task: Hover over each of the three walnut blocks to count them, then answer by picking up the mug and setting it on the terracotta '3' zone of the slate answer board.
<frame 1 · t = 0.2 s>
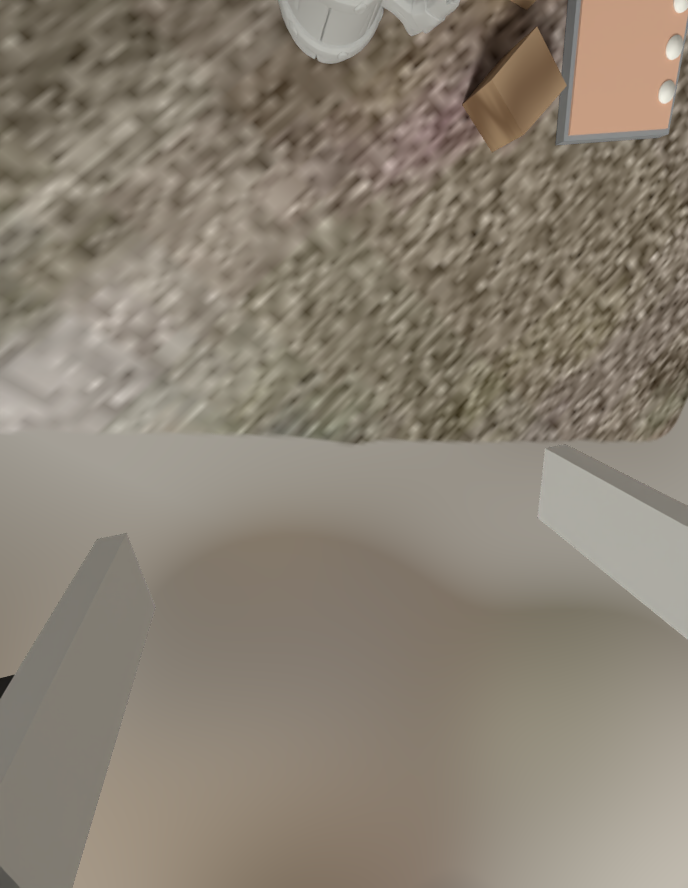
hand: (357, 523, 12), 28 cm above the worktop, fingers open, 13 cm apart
mug: (352, 15, 29), on the worktop
walnut block c: (496, 107, 33), on the worktop
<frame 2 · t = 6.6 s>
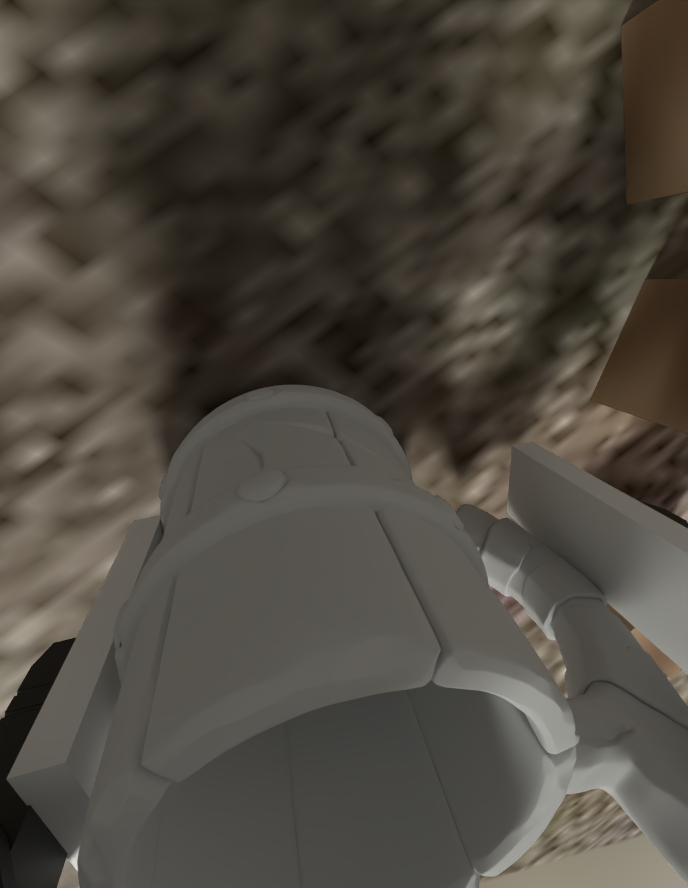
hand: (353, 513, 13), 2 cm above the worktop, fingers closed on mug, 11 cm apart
mug: (343, 485, 15), on the worktop, touching gripper
walnut block b: (657, 354, 15), on the worktop
walnut block c: (599, 546, 19), on the worktop
walnut block a: (686, 97, 12), on the worktop
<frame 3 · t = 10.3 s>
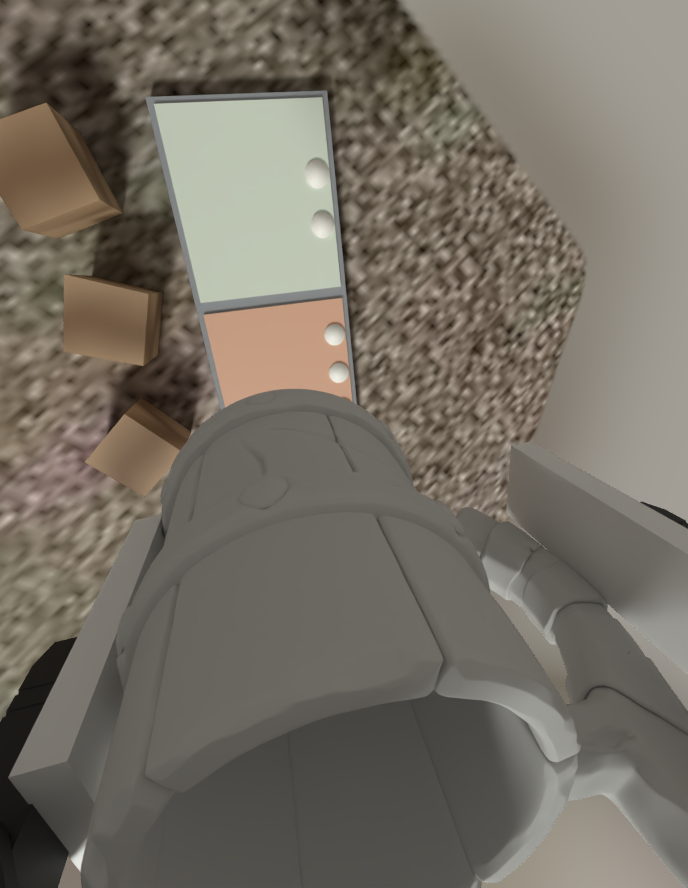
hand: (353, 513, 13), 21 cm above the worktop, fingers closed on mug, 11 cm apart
answer board: (272, 299, 30), on the worktop
mug: (344, 488, 15), point 19 cm above the worktop, touching gripper
walnut block b: (126, 317, 28), on the worktop
walnut block c: (149, 435, 31), on the worktop
walnut block a: (69, 188, 25), on the worktop
when the fingers open (5 cm above the worktop, at t = 13.9 s): mug drops 2 cm, resting on answer board.
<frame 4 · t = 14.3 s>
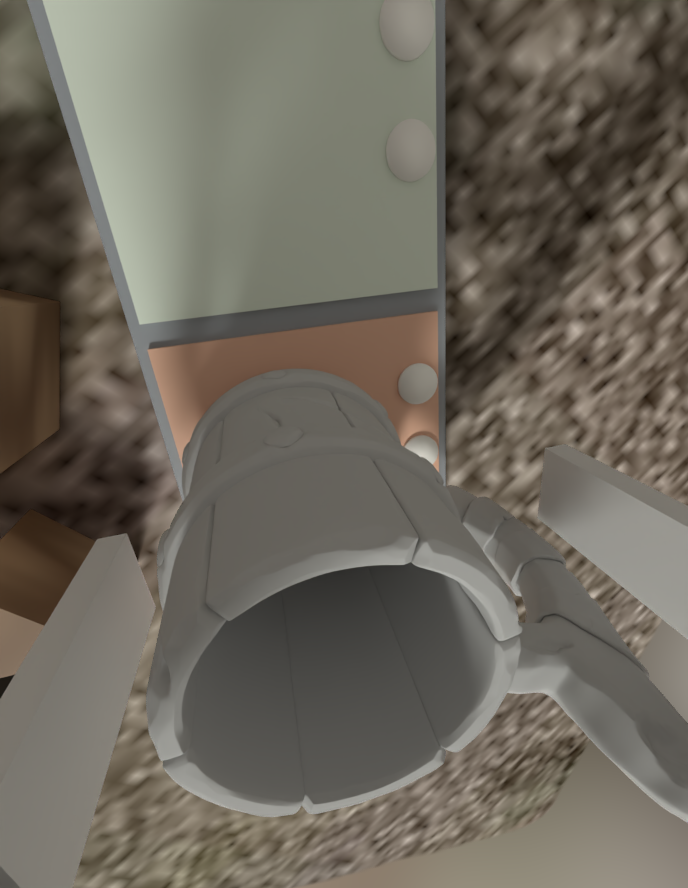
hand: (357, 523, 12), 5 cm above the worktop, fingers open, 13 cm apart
answer board: (295, 314, 15), on the worktop
mug: (341, 464, 16), point 1 cm above the worktop, touching answer board
walnut block c: (56, 573, 16), on the worktop
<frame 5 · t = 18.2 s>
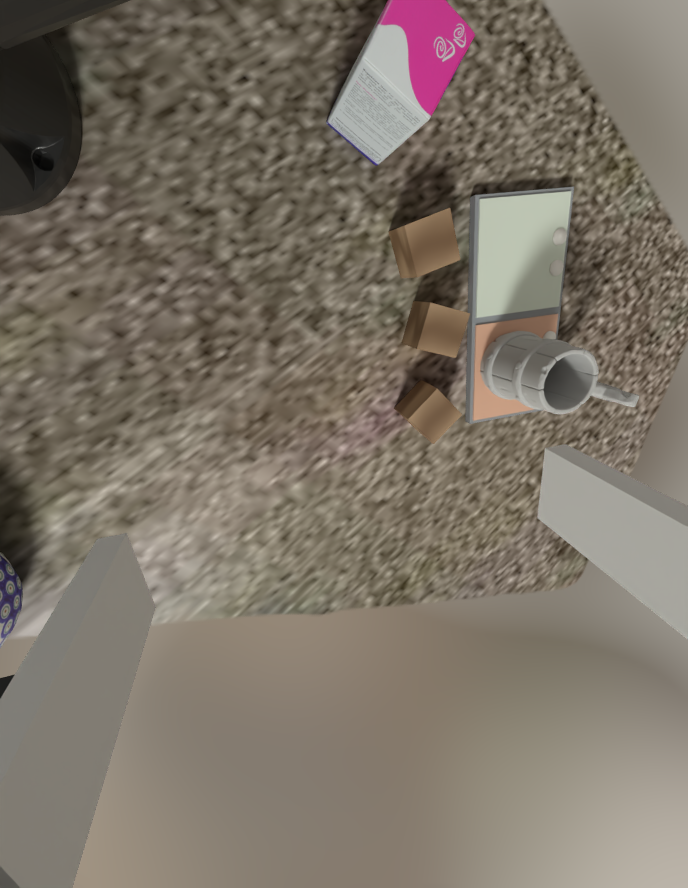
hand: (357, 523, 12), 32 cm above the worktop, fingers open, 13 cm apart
answer board: (511, 315, 45), on the worktop
mug: (520, 367, 46), point 1 cm above the worktop, touching answer board
walnut block b: (425, 327, 43), on the worktop
supplement box: (368, 115, 35), on the worktop
walnut block c: (419, 405, 47), on the worktop
walnut block a: (414, 247, 40), on the worktop
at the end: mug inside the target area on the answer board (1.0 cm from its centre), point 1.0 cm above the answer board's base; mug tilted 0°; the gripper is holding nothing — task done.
